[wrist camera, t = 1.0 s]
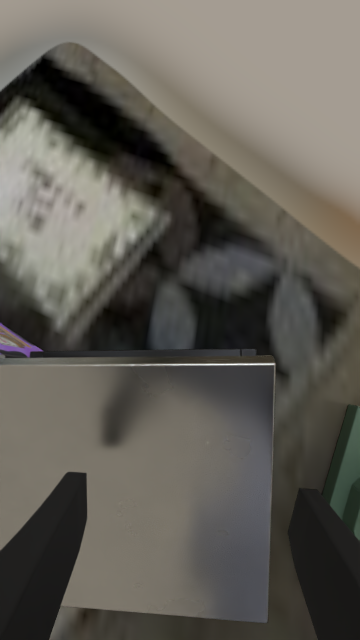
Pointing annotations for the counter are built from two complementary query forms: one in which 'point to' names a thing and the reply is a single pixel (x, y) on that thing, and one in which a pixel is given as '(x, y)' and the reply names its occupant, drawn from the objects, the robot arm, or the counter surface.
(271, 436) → the canister lid
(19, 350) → the candy box
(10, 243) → the counter surface
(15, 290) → the counter surface
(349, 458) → the green base
